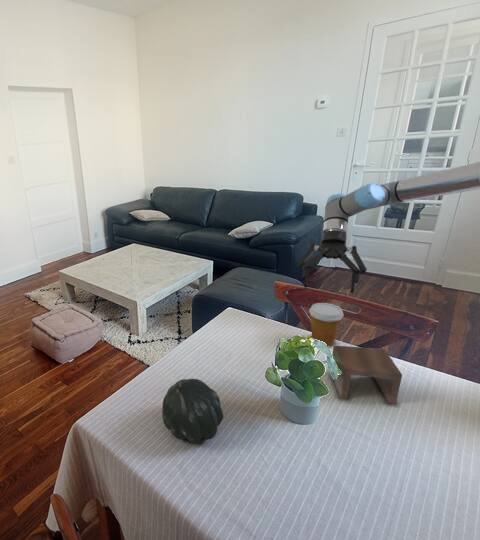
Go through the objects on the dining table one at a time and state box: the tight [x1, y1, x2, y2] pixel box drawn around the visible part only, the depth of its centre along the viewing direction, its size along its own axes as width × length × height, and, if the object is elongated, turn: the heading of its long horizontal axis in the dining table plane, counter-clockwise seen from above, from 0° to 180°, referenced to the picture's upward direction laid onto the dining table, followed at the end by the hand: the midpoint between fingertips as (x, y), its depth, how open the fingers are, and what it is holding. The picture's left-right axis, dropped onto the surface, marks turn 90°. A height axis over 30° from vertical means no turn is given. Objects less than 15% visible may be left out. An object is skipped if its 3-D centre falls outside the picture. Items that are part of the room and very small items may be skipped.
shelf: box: [331, 345, 403, 405], centre depth 90 cm, size 12×11×9 cm
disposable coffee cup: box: [308, 302, 345, 347], centre depth 110 cm, size 10×10×12 cm
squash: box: [161, 378, 224, 444], centre depth 82 cm, size 14×15×15 cm
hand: (328, 288), depth 115 cm, fingers open, 13 cm apart
